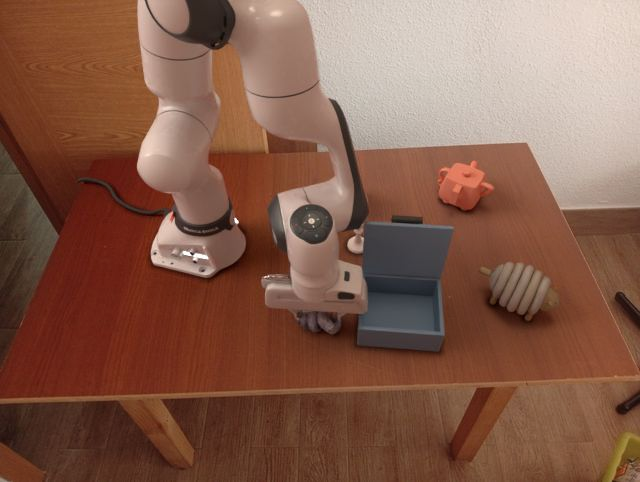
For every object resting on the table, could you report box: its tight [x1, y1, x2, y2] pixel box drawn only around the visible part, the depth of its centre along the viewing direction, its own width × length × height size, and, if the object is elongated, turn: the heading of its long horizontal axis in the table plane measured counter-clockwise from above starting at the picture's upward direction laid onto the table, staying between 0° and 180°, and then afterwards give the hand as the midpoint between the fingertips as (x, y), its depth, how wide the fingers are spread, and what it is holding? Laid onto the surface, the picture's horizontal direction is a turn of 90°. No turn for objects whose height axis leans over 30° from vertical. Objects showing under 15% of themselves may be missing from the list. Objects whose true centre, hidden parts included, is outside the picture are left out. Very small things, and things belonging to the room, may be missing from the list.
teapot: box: [437, 160, 495, 211], centre depth 121 cm, size 12×12×10 cm
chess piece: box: [346, 223, 364, 254], centre depth 112 cm, size 5×5×10 cm
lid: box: [361, 214, 455, 279], centre depth 98 cm, size 14×17×5 cm
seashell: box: [294, 310, 342, 335], centre depth 100 cm, size 5×5×10 cm
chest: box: [356, 273, 446, 353], centre depth 100 cm, size 14×17×7 cm
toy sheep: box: [478, 261, 561, 322], centre depth 100 cm, size 11×17×11 cm, turn 61°
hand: (317, 316), depth 99 cm, fingers closed on seashell, 7 cm apart
